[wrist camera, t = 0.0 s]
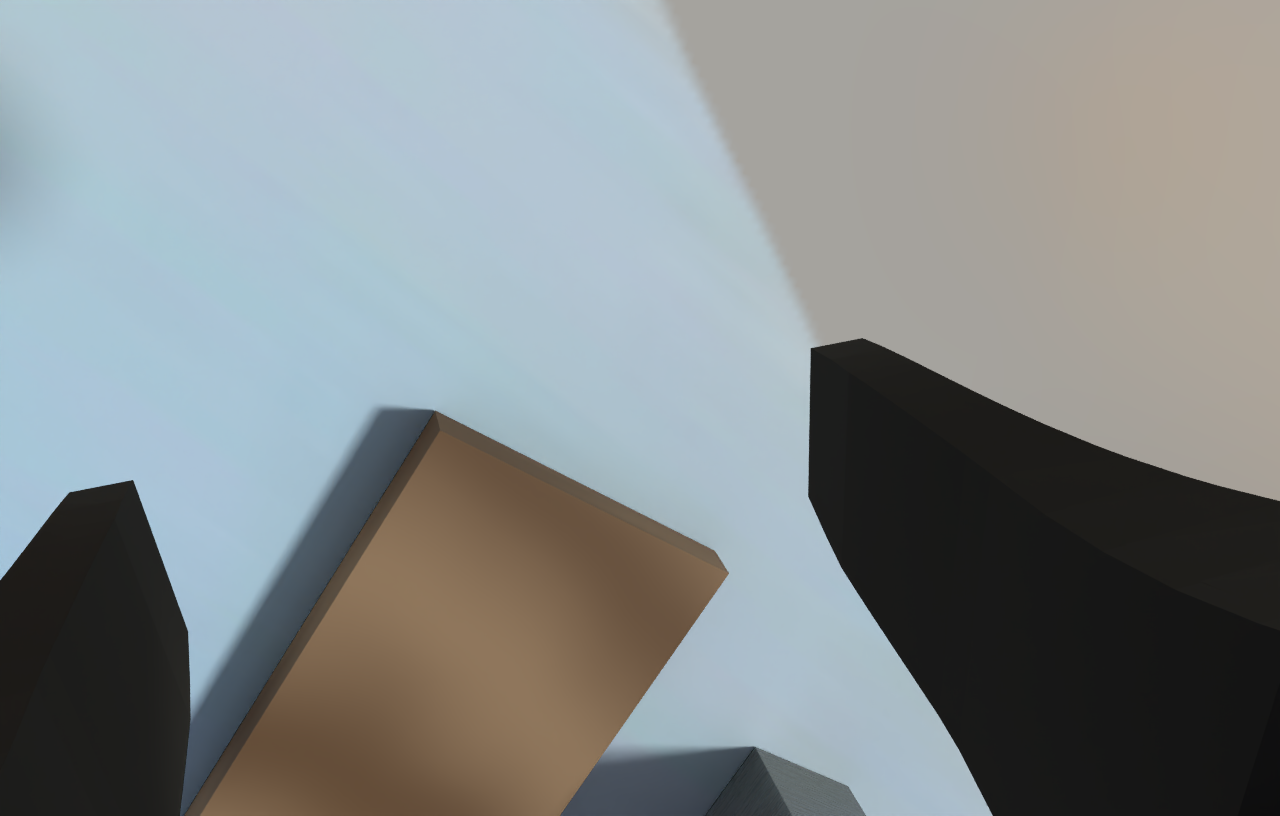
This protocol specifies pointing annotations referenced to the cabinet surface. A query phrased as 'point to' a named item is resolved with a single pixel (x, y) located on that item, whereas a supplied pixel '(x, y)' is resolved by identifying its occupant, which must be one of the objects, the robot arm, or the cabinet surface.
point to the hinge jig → (467, 646)
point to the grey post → (782, 791)
